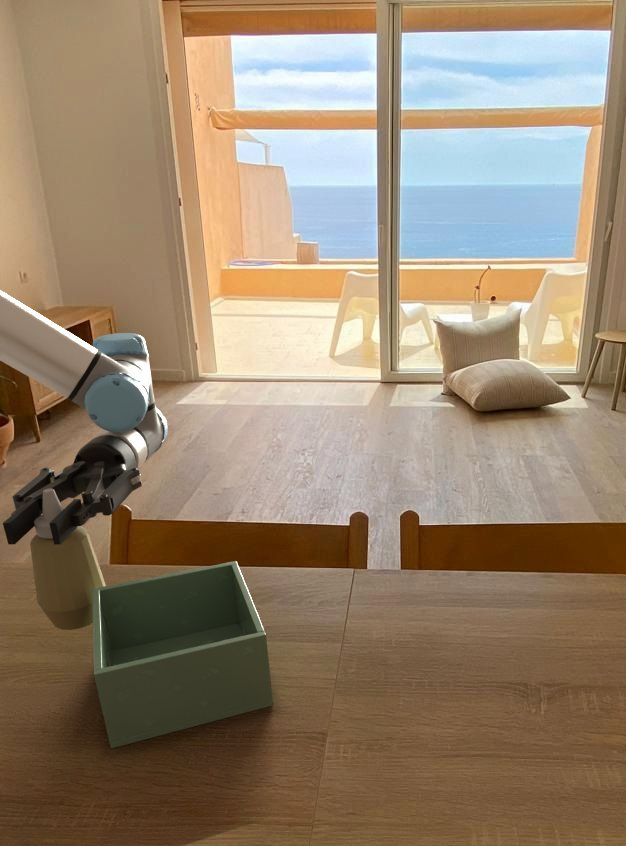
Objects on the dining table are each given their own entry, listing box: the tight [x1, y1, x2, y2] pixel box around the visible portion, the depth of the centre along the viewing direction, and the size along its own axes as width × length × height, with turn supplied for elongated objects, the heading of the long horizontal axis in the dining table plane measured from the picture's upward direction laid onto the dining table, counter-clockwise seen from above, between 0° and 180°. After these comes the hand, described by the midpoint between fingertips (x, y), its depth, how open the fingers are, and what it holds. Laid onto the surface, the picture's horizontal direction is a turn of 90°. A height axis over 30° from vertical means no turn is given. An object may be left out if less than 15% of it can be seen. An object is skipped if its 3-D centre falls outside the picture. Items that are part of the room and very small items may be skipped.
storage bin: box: [92, 560, 274, 749], centre depth 82 cm, size 18×18×10 cm
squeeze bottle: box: [29, 488, 107, 631], centre depth 86 cm, size 8×8×18 cm
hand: (32, 533), depth 78 cm, fingers closed on squeeze bottle, 5 cm apart
